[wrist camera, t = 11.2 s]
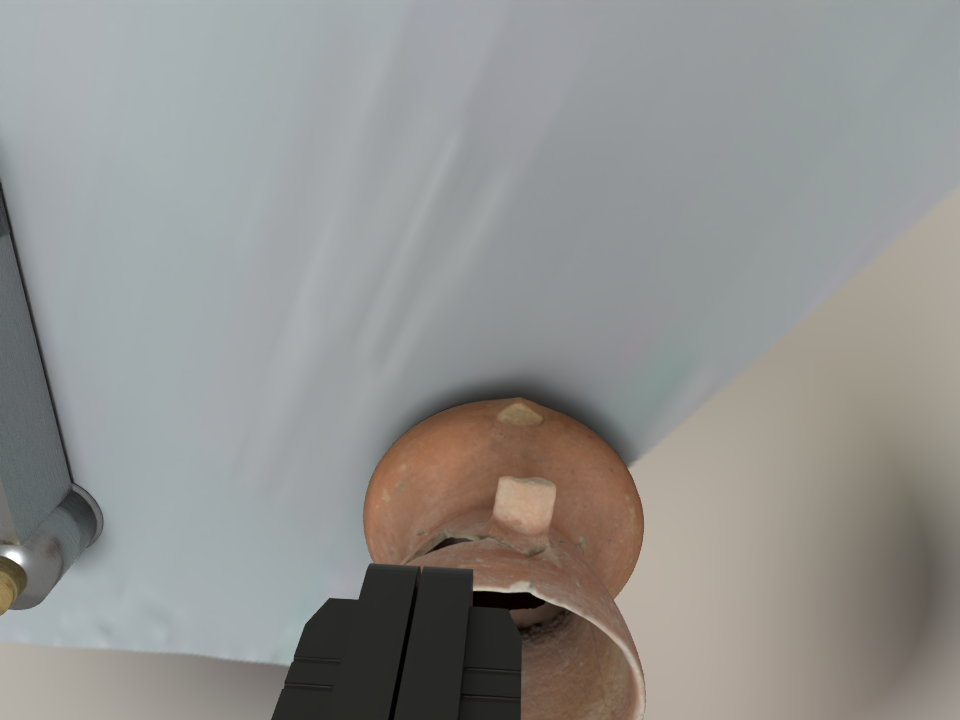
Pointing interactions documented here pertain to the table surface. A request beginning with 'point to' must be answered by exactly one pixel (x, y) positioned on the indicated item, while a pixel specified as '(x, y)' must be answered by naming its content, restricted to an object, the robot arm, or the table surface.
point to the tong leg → (32, 452)
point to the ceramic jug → (524, 542)
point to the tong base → (95, 508)
